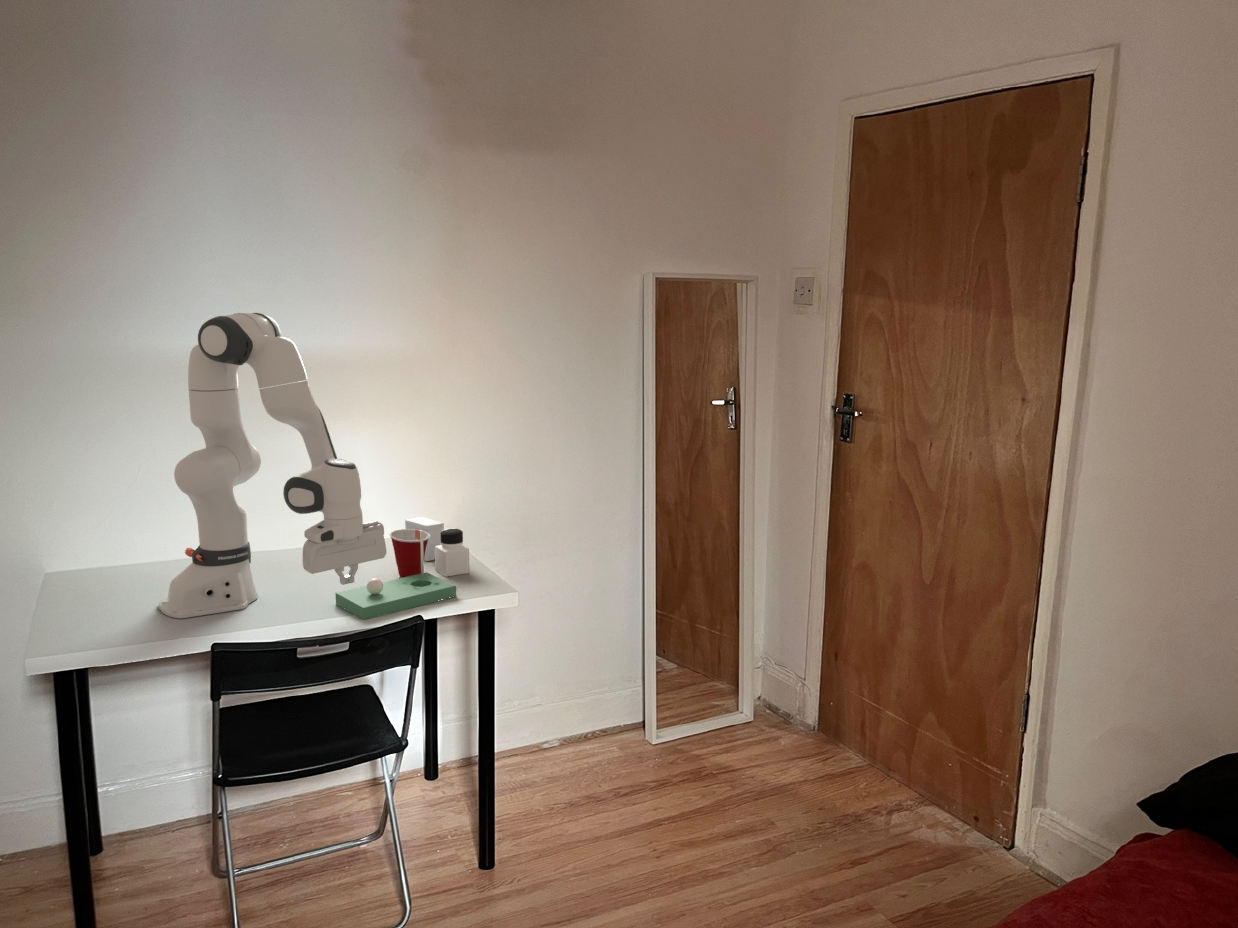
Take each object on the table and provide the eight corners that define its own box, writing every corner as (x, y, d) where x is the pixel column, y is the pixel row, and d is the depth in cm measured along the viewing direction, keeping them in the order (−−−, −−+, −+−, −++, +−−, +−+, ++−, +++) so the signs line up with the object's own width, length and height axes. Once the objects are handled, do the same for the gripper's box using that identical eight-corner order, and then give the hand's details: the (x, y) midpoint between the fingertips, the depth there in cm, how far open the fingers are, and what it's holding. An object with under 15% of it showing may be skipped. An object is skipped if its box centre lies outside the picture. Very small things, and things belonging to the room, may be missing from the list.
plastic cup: (421, 583, 256) (421, 540, 254) (383, 580, 258) (382, 537, 256) (437, 571, 267) (436, 529, 264) (400, 568, 269) (399, 526, 267)
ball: (371, 597, 236) (371, 582, 235) (363, 593, 239) (363, 578, 238) (386, 594, 239) (386, 578, 238) (378, 590, 241) (377, 574, 241)
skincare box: (445, 557, 280) (444, 522, 278) (427, 561, 276) (426, 526, 274) (422, 549, 287) (422, 515, 285) (404, 554, 282) (404, 519, 280)
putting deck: (363, 619, 230) (361, 558, 227) (332, 602, 241) (330, 544, 238) (456, 596, 247) (455, 540, 244) (423, 581, 258) (422, 527, 255)
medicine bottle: (469, 573, 266) (469, 531, 264) (445, 577, 262) (444, 534, 260) (458, 566, 272) (458, 525, 270) (434, 570, 268) (434, 528, 266)
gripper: (376, 517, 239) (379, 571, 241) (297, 532, 225) (301, 589, 228) (389, 522, 234) (392, 576, 237) (309, 537, 221) (313, 595, 223)
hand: (347, 583), depth 232 cm, fingers closed
